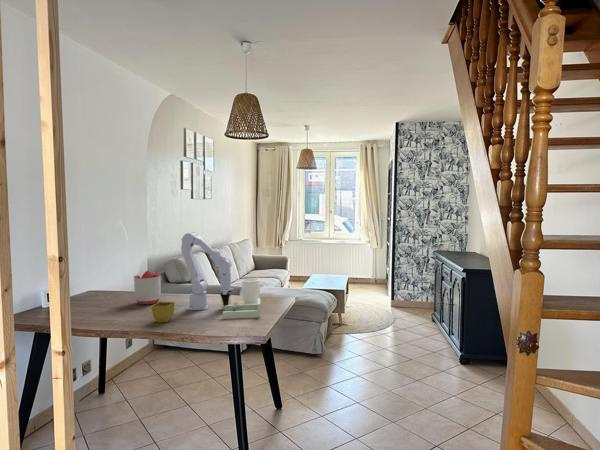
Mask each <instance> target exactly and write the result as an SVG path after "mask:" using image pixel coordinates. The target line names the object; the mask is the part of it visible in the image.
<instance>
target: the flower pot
mask: <svg viewBox="0 0 600 450" xmlns="http://www.w3.org/2000/svg"><path fill="white" fill-rule="evenodd" d="M150 308H151V312H152V316H153V318H154V320H155V321H156V323H167V322H169V321H171V320H172V318H173V316H174V313H175V301H158V302H157V303H153V304H151V307H150Z"/></svg>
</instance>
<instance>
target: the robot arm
mask: <svg viewBox="0 0 600 450" xmlns="http://www.w3.org/2000/svg"><path fill="white" fill-rule="evenodd" d="M194 246H199V247H200V248H201V249H203V250H204V251H205V252H206V253H207V254H208V255H209V258H210V259H211V260H212V261H213V262H214V263H215V264H216V265H217V266H218V269H219V270H220V291H221V292H223V293H221V292H220V295H219V296H220V298H221V297H222V300H223V304H224V306H225V305H228V301H229V296H230V294H227V292H231V293H232V290H234V287H232V278H231V276H232V275H231V274H232V273H231V267H232V265H233V264H232V261H231V260H230V259H227V257H226V256H224V255H223V254H221V251H220V250H219V251H218V250H215V249H213V248H212V247H211V246H210V245H209V244H208V242H207V241H206V240H205V239H204V238H202V236H201V235H199V234H198V233H197V232H195V231H193V232H187V233H185V234H184V235H183V236H182V238H181V246H180V250H181V253H182V256H183V259H184V262H185V265H186V267H187V270H188V272H189V275H190V277H191V281H190V282H191V283H190V285H191V290H192V292H193V293H192V292H191V293H190V294H189V311H201V310H204V311H206V310H208V308H209V305H208V302H207V299H208V298H207V296H208V295H207V289H208V285H209V284H208V283H207V281H206V280H205V277H203V276H202V275H201V272H200V270H199V267H198V264H197V262H196V259H195V256H194V254H193V251H192V249H193V248H194Z"/></svg>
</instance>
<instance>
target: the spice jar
mask: <svg viewBox="0 0 600 450" xmlns="http://www.w3.org/2000/svg"><path fill="white" fill-rule="evenodd" d="M221 293H223V292H222V291H221V292H220V294H221ZM227 294H230V296H229V301H228V305H232V291H231V292H227ZM220 298H221V299H220V300H221V302H220V303H221V305H220V306H221V310H223V311H225V306H224V304H223V300H222V297H221V296H220Z"/></svg>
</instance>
